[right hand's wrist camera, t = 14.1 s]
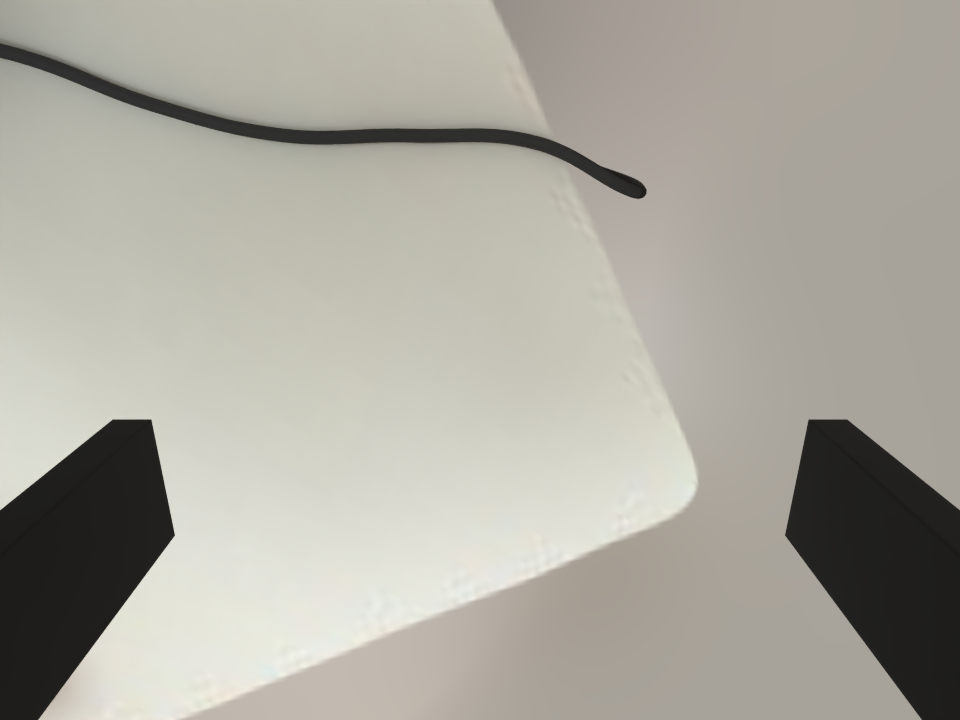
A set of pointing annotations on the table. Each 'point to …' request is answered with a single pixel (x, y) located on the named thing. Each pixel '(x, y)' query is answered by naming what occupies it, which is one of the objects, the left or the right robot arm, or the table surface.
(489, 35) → the table surface
